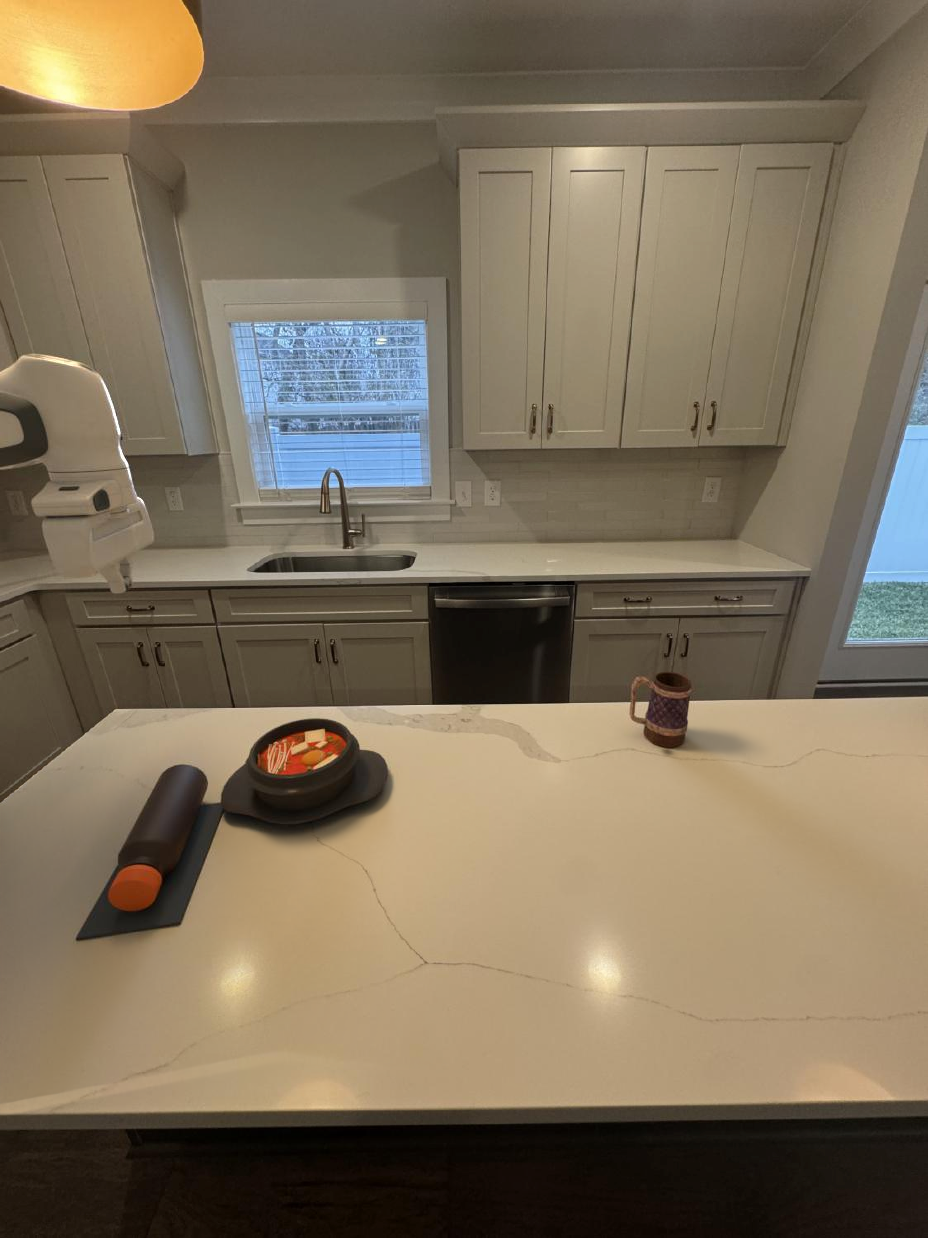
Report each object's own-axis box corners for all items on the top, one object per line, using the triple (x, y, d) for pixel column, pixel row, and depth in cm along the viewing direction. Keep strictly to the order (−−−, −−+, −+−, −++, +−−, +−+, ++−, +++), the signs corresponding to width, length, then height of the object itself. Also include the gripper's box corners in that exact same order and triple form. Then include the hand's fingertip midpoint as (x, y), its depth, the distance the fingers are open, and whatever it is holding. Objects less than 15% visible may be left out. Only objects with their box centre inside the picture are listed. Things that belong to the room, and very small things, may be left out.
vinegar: (166, 758, 74) (106, 869, 56) (214, 769, 76) (171, 879, 58) (153, 794, 76) (91, 913, 58) (201, 804, 78) (156, 921, 60)
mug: (678, 726, 94) (688, 668, 89) (690, 750, 87) (700, 688, 83) (621, 723, 95) (628, 666, 90) (628, 746, 88) (636, 686, 84)
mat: (76, 940, 57) (75, 938, 57) (148, 813, 75) (148, 811, 75) (180, 924, 59) (179, 922, 58) (226, 803, 77) (226, 801, 77)
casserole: (204, 843, 70) (190, 794, 67) (244, 758, 87) (234, 717, 84) (386, 826, 72) (382, 778, 69) (390, 747, 89) (386, 706, 86)
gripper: (108, 483, 77) (132, 571, 82) (20, 504, 58) (58, 616, 63) (153, 481, 78) (173, 569, 83) (80, 502, 59) (112, 613, 64)
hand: (123, 590), depth 73 cm, fingers closed
